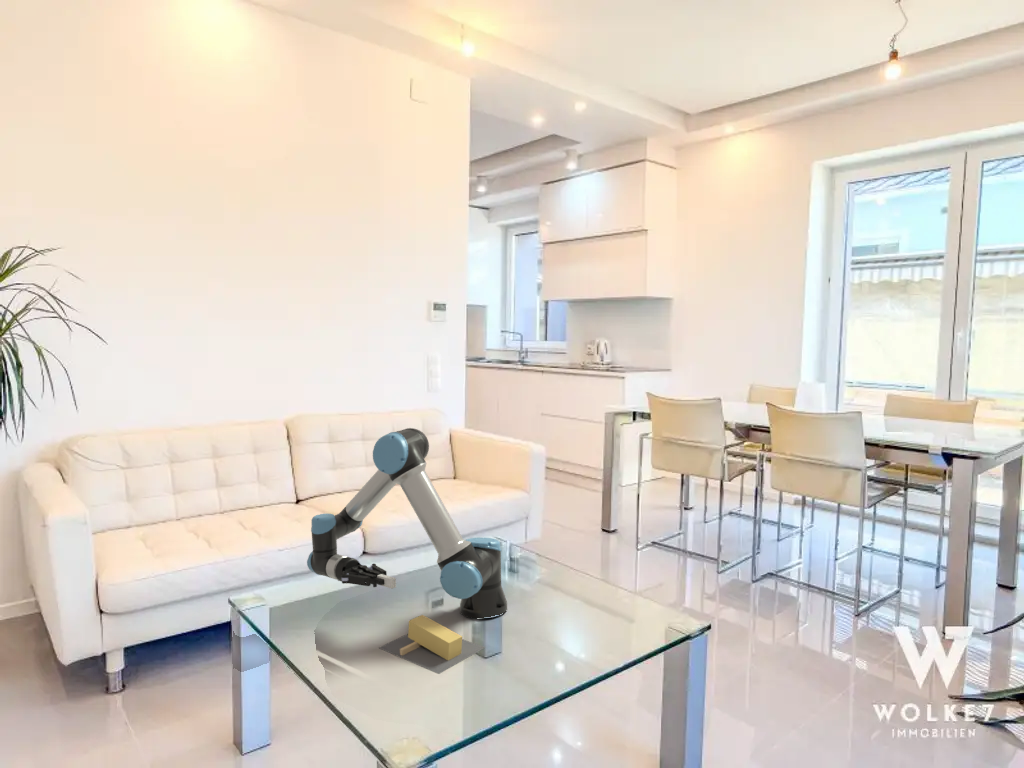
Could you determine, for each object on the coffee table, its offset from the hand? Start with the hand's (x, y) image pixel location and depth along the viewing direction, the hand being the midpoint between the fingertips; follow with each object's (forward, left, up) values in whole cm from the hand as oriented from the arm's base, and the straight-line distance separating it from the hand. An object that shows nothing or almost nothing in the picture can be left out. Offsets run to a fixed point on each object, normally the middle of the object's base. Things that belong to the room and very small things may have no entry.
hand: (393, 583), depth 189 cm
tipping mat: (-11, +10, -16) cm, 22 cm away
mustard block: (-6, +6, -11) cm, 14 cm away
